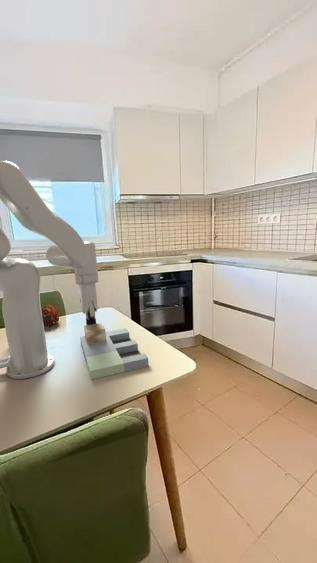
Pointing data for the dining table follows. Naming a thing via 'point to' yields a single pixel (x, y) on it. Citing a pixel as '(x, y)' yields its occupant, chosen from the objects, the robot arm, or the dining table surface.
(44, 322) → the dragon fruit
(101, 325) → the block
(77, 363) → the dining table surface
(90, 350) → the board
